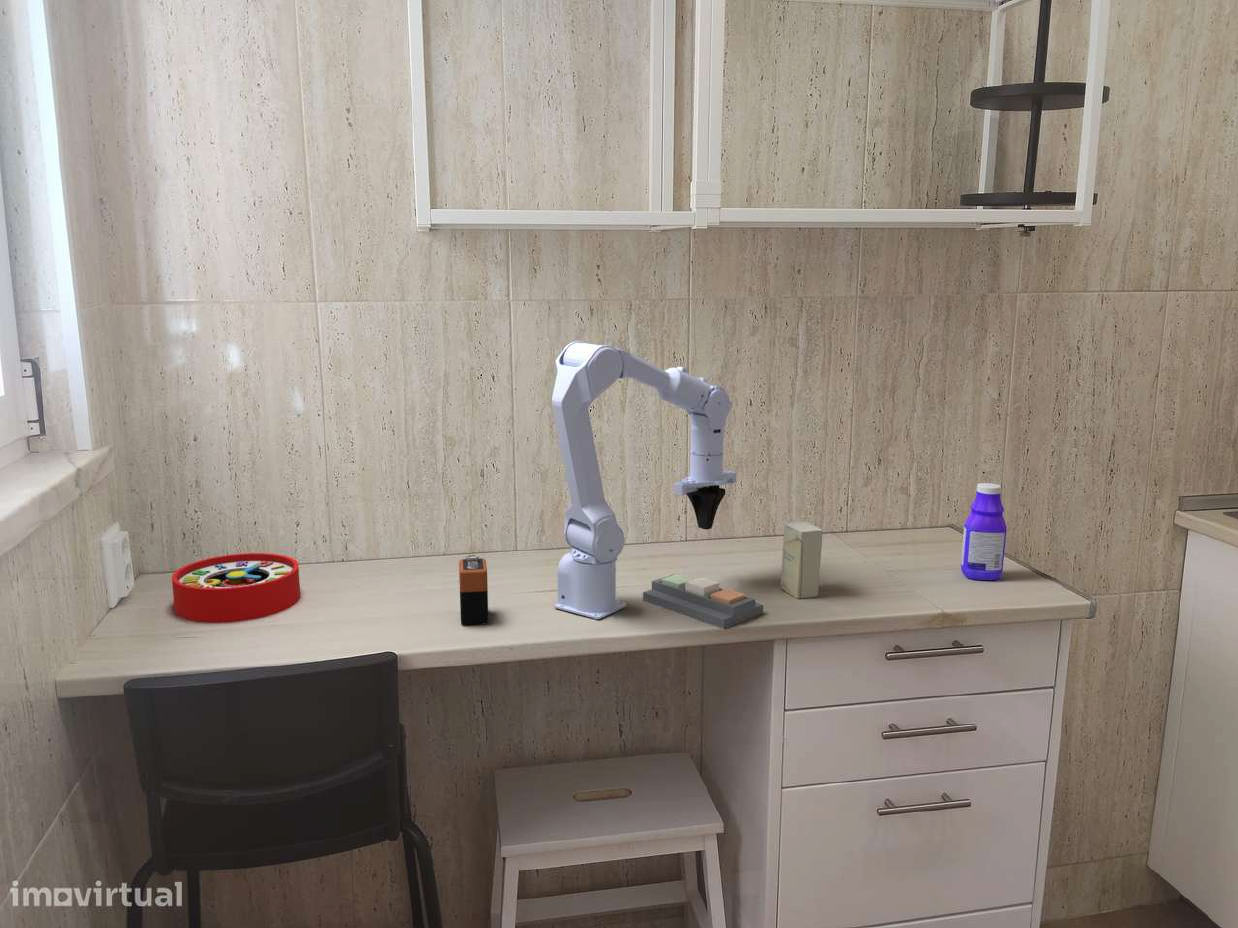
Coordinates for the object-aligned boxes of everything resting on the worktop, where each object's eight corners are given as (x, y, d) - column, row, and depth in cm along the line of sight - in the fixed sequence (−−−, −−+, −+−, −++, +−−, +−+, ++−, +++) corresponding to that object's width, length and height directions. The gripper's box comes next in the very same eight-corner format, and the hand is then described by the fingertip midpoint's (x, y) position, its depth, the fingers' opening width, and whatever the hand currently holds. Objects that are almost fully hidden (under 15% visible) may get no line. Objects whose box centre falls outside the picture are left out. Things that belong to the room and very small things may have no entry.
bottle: (997, 572, 184) (1004, 481, 181) (1005, 582, 179) (1013, 488, 175) (957, 571, 185) (964, 480, 181) (964, 581, 179) (971, 487, 176)
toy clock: (143, 582, 160) (225, 548, 178) (147, 616, 161) (227, 579, 180) (249, 594, 154) (321, 558, 173) (252, 630, 155) (323, 590, 174)
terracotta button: (710, 603, 161) (710, 594, 161) (726, 597, 164) (726, 588, 164) (729, 609, 158) (729, 600, 158) (744, 603, 161) (745, 594, 161)
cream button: (685, 591, 165) (685, 582, 165) (701, 586, 168) (701, 577, 167) (703, 597, 162) (703, 587, 162) (719, 591, 165) (719, 582, 165)
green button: (661, 587, 169) (661, 578, 169) (677, 582, 172) (677, 573, 171) (678, 593, 166) (678, 584, 166) (694, 588, 169) (694, 579, 169)
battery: (487, 610, 164) (485, 552, 162) (488, 624, 157) (487, 564, 155) (460, 611, 163) (458, 553, 161) (461, 626, 156) (459, 566, 154)
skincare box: (779, 588, 175) (782, 522, 172) (801, 585, 176) (804, 520, 174) (798, 599, 169) (801, 531, 167) (820, 596, 171) (823, 529, 168)
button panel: (642, 600, 168) (643, 583, 168) (682, 587, 175) (682, 571, 175) (723, 628, 156) (724, 610, 155) (763, 613, 162) (763, 595, 162)
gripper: (696, 461, 165) (694, 540, 167) (750, 450, 174) (748, 524, 177) (665, 455, 170) (664, 532, 172) (720, 445, 179) (718, 517, 182)
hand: (705, 528), depth 175 cm, fingers closed
